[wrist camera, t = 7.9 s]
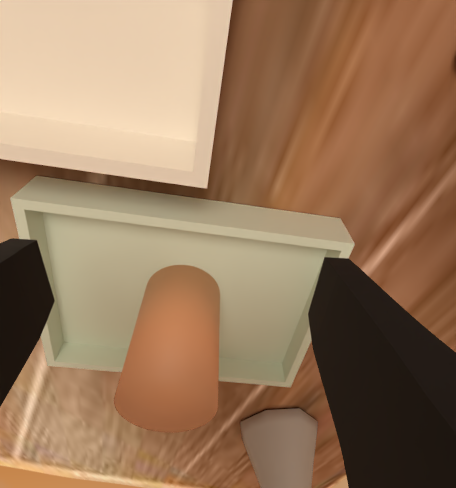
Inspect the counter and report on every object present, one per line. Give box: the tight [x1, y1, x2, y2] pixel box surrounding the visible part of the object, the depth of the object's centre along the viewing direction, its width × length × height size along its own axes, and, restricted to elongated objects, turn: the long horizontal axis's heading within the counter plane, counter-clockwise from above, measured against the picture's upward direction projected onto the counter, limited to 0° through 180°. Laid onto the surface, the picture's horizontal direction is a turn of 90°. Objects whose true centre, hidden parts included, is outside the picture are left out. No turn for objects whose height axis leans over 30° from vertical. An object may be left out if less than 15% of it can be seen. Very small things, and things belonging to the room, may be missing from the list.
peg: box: [114, 265, 220, 432], centre depth 17 cm, size 4×4×7 cm
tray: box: [10, 176, 355, 387], centre depth 20 cm, size 16×12×2 cm
